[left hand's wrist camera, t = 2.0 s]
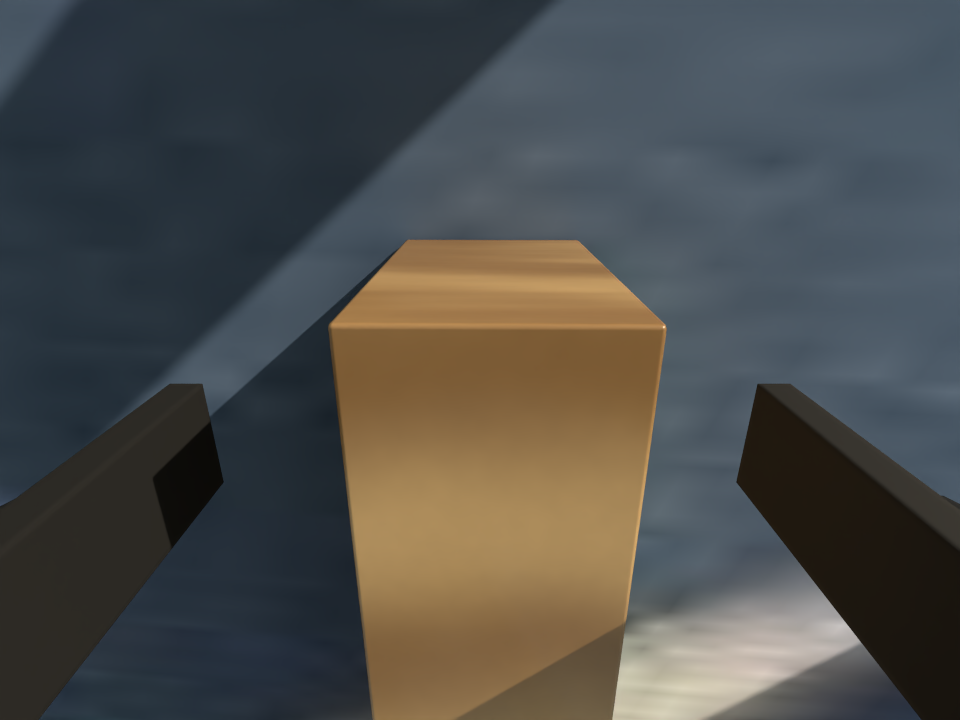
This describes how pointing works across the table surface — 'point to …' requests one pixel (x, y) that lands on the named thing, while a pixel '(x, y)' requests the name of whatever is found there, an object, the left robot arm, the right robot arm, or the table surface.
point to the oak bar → (494, 475)
